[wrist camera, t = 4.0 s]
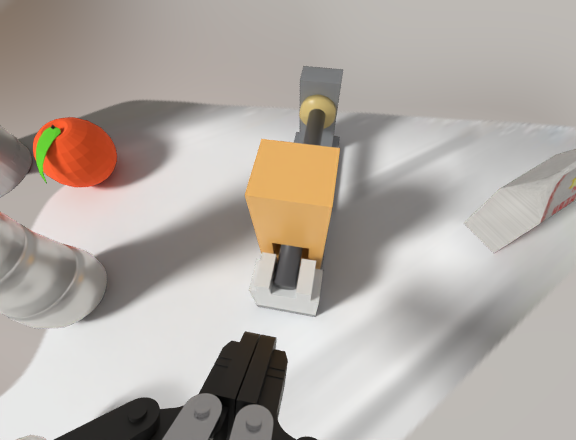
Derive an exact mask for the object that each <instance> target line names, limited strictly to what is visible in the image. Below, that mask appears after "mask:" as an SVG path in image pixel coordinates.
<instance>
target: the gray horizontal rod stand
mask: <svg viewBox="0 0 576 440" xmlns="http://www.w3.org/2000/svg"><path fill="white" fill-rule="evenodd" d="M342 74H343V70H342V69H332V68H331V69H330V68H320V67H308V66H303V70H302V74H301V78H300V113H299V114H300V132H296V136H295V140H294V143H301V144H309V145H318V146H326V147H335V148H338V145H339V138H340V137H337V136H334V129H335V122H336V115H337V108H338V102H339V95H340V88H341V81H342ZM324 249H325V247H324ZM302 250H303V248H302V247H295V246H289V245H283V244H281V248H280V253H279V257H278V262H277V256H276V254H271V253H265V252H262V255H261V259H257V260H256V264H255V268H254V272H253V276H252V280H251V284H250V288H249V291H250V293H251V295H252V297H253V299H254V301H255V302H256V304H257V306H258V307H263V308H269V309H274V310H280V311H285V312H291V313H296V314H302V315H307V316H313V317H315V315H316V312H317V308H318V304H319V298H320V291H321V283H322V275H323V270H322V264H323V257H322V262H321V267H320V269H315V266H316V261H314V260H308V259H302V260H301V255H302ZM323 256H324V252H323ZM300 261H301V266H300Z"/></svg>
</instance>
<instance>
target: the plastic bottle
mask: <svg viewBox="0 0 576 440" xmlns="http://www.w3.org/2000/svg"><path fill="white" fill-rule="evenodd" d="M106 285H107V274H106V270H105V268H104V267H103V265H102V264H101V263H100V262H99V261H98V260H97V259H96V258H95V257H94V256H93V255H92V254H90V253H89V252H87V251H84V250H82V249H79V248H76V247H73V246H69V245H65V244H61V243H59V242H56V241H54V240H52V239H49V238H47V237H45V236H42V235H40V234H38V233H35V232H33V231H31V230H29V229H27V228H26V227H25V226H23V225H21V224H19V223H18V222H17V221H15V220H13V219H12V218H10V217H9V216H7V215H5V214H4V213H2V212H0V314H3V315H6V316H7V317H8V318H10V319H12V320H14V321H16V322H19V323H21V324H24V325H26V326H29V327H33V328H39V329H41V328H42V329H50V328H62V327H66V326H69V325H72V324H74V323H76V322H78V321H80V320H81V319H83V318H84V317H85V316H87V315H88V314H90V313H91V312H92V311H93V310H94V309H95V308H96V307H97V305H98V304H99V303H100V301H101V300H102V298H103V296H104V293H105V290H106Z"/></svg>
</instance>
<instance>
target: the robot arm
mask: <svg viewBox="0 0 576 440" xmlns="http://www.w3.org/2000/svg"><path fill="white" fill-rule="evenodd" d="M31 162H32V157H31V153H30V151H29V150H28V148H27V147H25V146H24V145H23V144H22V143H21V142H20V141H18V139H17V138H16V137H14V136H13V135H12V134H10V133H9V132H8V131H7V130H6V129H5V128H3V127H2V126H1V125H0V197H2V196H4V195H5V194H7V193H8V192H10V191H11V190H12V189H14V188H15V187H16V186H17V185H18V184H19V183H20V182H21V181H22V180H23V179H24V177H25V176H26V174H27V173H28V171H29V169H30V166H31ZM275 348H276V337H271V336H266V335H260V334H256V333H251V332H244V334H243V336H242V339H241V341H240V342H236V341H231V342H229V343H228V344H227V345H226V346H224V347H223V349H222V351H221V353H220V354H219V356H218V358H217V360H216V362H215V365H214V366H213V368H212V370H211V372H210V373H209V375H208V377H207V379H206V381H205V383H204V385H203V387H202V389H201V390H200V392H199V394H198V395H196V396H194V397H192V398H191V399H189V400H188V401H187V403H186V404H185V405H184V406H181V407H177V408H168V409H159V405H158V403H157V402H156V401H155V400H154V399H151V398H138V399H135V400H133V401H130V402H128V403H126V404H124V405H122V406H120V407H118V408H116V409H114V410H112V411H110V412H108V413H106V414H104V415H102V416H100V417H98V418H96V419H94V420H92V421H90V422H88V423H86V424H84V425H82V426H80V427H78V428H76V429H74V430H72V431H70V432H68V433H66V434H64V435H62V436H60V437H58V438H56V439H54V440H296V439H295V438H293V437H291V436H290V435H288V434H287V433H286V432H285V431H284V430H283V429H282V428H281V426H280V424H279V422H278V415H279V410H280V405H281V401H282V396H283V391H284V385H285V378H286V370H287V363H288V360H287V357H286V353H285V351H280V350H275ZM297 440H317V439H315V438H313V437H301V438H299V439H297Z"/></svg>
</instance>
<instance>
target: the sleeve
mask: <svg viewBox="0 0 576 440" xmlns="http://www.w3.org/2000/svg"><path fill="white" fill-rule="evenodd" d="M339 153H340V148H335V147H326V146H318V145H309V144H301V143H292V142H284V141H275V140H266V139H261V143H260V146H259V149H258V153H257V156H256V159H255V162H254V166H253V169H252V172H251V176H250V179H249V182H248V186H247V189H246V192H245V198H246V202H247V205H248V209H249V212H250V216H251V219H252V223H253V226H254V229H255V233H256V236H257V240H258V243H259V247H260V250H261V254H262V252H265V253H271V254H276V256H277V262H278V257H279V253H280V248H281V244H283V245H289V246H295V247H302V248H303V250H302V255H301V260H302V259H308V260H314V261H316V266H315V269H320V267H321V262H322V257H323V252H324V247H325V242H326V237H327V232H328V227H329V222H330V217H331V212H332V207H333V199H334V191H335V184H336V176H337V168H338V161H339ZM300 266H301V261H300Z"/></svg>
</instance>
